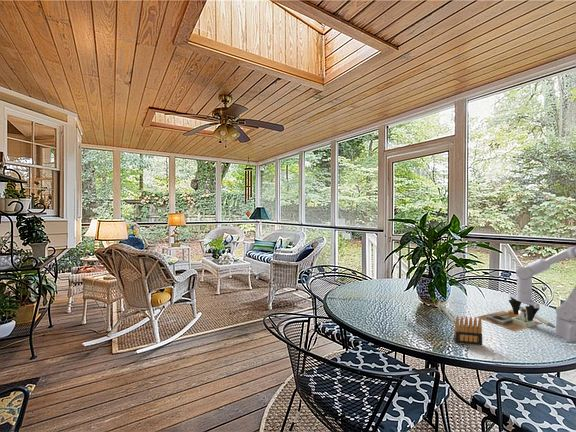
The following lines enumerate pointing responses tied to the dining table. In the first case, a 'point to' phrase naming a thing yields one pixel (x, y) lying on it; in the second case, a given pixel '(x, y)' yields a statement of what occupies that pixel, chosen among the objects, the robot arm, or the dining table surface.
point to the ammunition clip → (468, 331)
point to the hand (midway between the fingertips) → (523, 317)
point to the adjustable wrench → (541, 319)
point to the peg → (522, 315)
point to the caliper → (442, 307)
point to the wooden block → (510, 314)
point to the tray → (528, 324)
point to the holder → (504, 321)
